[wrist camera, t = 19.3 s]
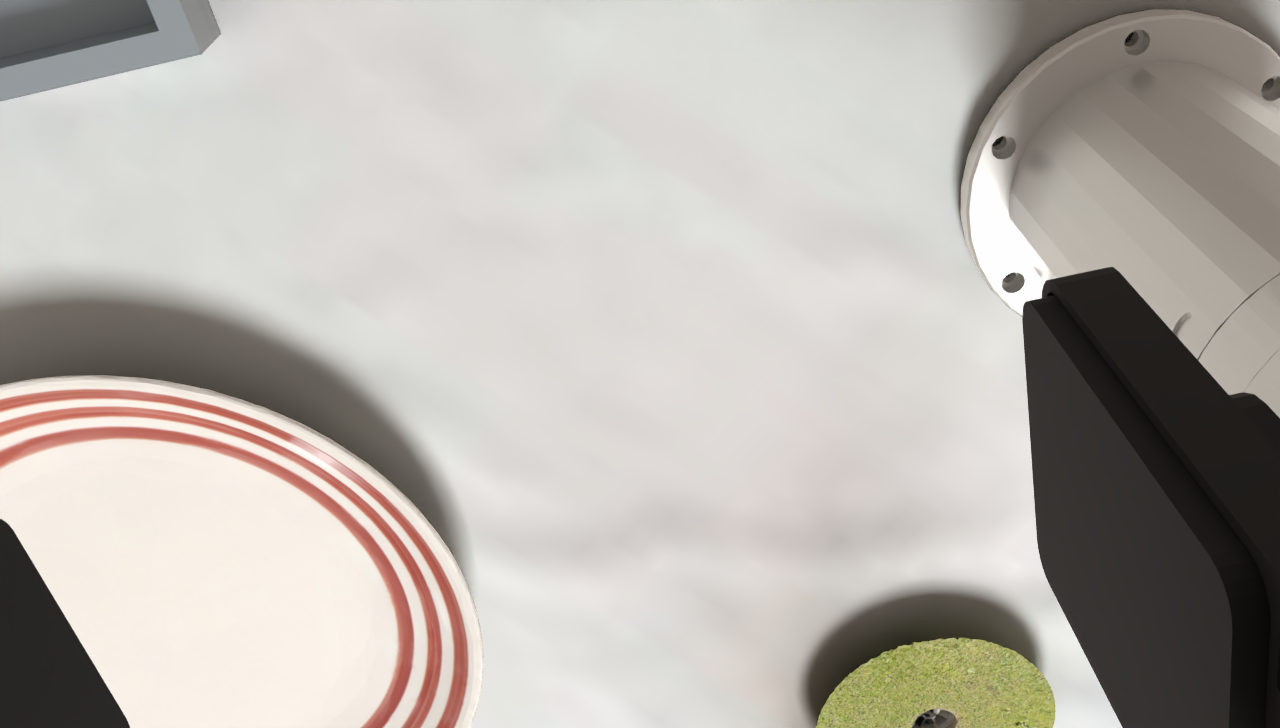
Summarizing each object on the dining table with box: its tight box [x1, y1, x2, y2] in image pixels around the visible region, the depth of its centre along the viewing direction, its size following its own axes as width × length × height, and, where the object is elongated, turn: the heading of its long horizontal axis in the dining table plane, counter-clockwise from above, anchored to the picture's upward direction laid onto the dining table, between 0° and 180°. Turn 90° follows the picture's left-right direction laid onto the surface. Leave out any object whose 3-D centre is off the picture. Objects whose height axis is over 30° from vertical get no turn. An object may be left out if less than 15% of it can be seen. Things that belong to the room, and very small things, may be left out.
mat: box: [816, 637, 1055, 728], centre depth 58 cm, size 11×11×2 cm
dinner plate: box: [0, 375, 484, 728], centre depth 53 cm, size 27×27×3 cm
